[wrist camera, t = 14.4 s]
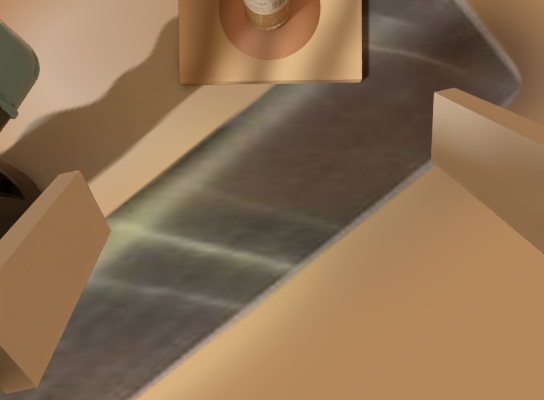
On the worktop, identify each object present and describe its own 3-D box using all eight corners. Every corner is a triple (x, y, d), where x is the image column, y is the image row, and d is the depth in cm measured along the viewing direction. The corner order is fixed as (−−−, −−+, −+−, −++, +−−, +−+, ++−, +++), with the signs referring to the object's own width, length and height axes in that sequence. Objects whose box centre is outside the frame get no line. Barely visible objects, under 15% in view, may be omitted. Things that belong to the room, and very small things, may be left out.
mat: (181, 84, 37) (179, 81, 36) (180, -54, 37) (177, -61, 36) (359, 82, 36) (361, 79, 35) (359, -59, 36) (361, -66, 35)
